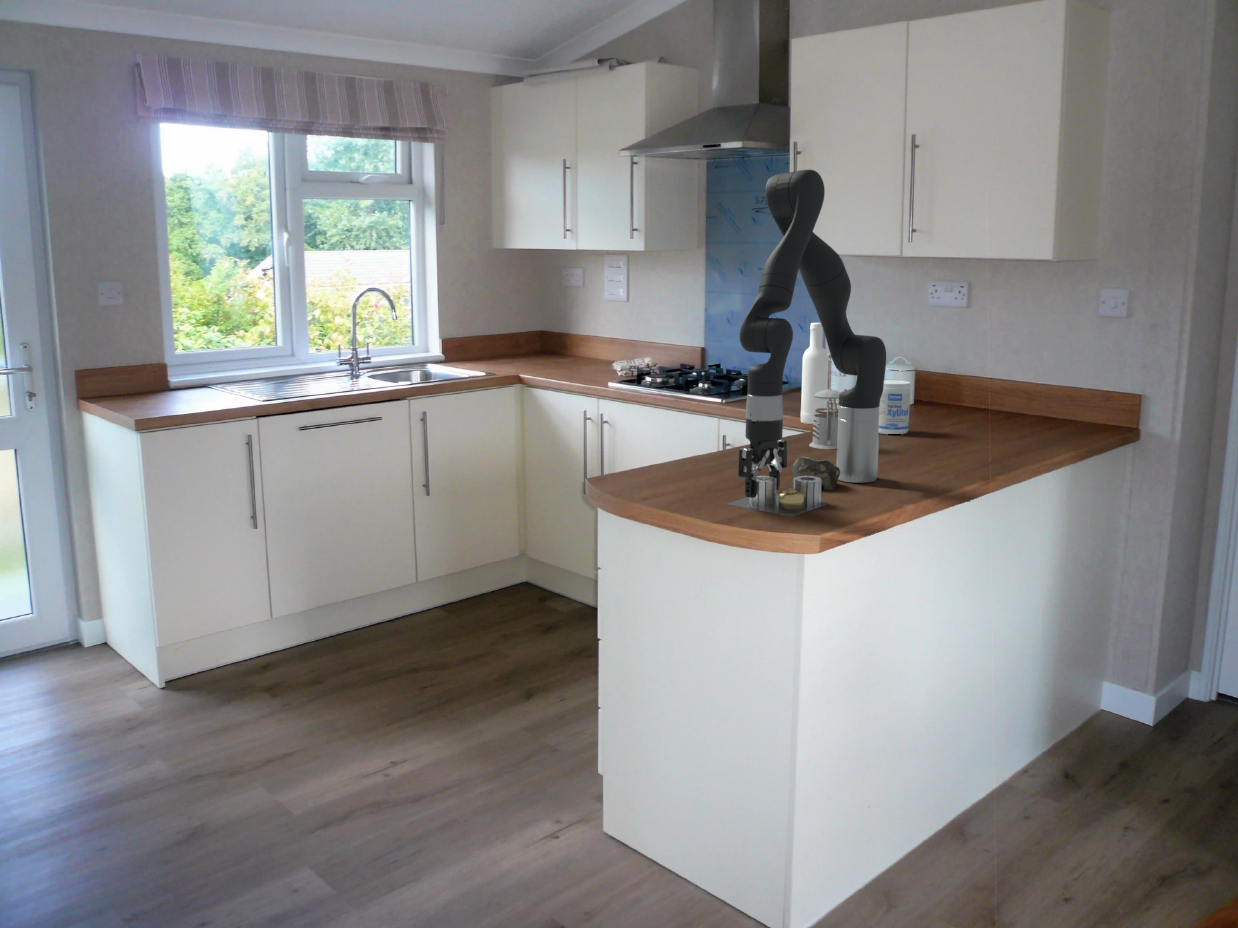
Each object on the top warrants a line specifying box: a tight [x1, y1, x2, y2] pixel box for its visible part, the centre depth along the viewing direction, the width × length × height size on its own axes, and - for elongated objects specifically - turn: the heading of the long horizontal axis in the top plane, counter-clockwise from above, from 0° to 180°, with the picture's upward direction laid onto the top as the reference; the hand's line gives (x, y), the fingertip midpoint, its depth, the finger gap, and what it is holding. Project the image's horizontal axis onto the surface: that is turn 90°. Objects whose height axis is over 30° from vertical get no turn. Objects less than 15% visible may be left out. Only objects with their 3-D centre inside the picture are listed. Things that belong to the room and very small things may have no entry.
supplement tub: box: [878, 379, 912, 435], centre depth 308 cm, size 10×10×15 cm
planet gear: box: [749, 475, 777, 506], centre depth 223 cm, size 6×6×5 cm
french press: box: [808, 352, 842, 450], centre depth 287 cm, size 10×12×25 cm
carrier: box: [726, 487, 829, 518], centre depth 222 cm, size 14×16×5 cm
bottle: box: [800, 322, 830, 425], centre depth 324 cm, size 8×8×30 cm
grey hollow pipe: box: [792, 476, 822, 506], centre depth 223 cm, size 6×6×5 cm
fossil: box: [790, 456, 840, 491], centre depth 238 cm, size 11×9×10 cm
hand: (762, 493), depth 223 cm, fingers open, 8 cm apart
